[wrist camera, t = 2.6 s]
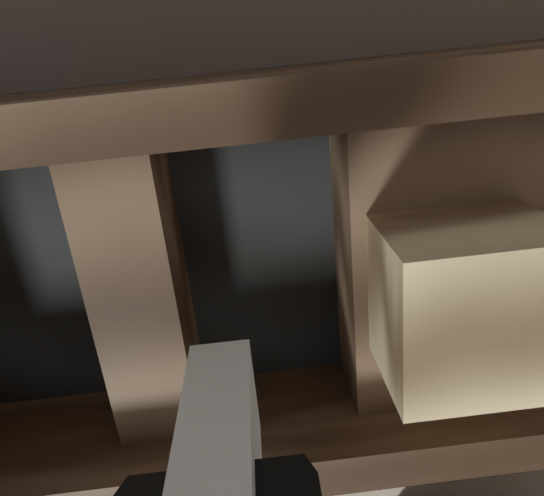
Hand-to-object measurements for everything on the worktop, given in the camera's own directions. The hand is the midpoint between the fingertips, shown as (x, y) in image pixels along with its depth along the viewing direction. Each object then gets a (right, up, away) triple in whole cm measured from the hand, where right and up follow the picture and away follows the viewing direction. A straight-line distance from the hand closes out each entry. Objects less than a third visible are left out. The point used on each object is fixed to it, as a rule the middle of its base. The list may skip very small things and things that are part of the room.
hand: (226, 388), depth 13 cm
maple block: (+7, +3, +4) cm, 8 cm away
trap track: (+3, +4, +8) cm, 9 cm away
